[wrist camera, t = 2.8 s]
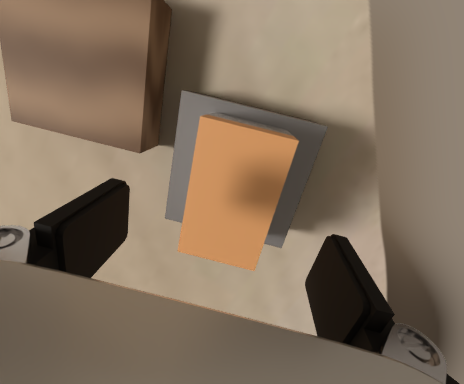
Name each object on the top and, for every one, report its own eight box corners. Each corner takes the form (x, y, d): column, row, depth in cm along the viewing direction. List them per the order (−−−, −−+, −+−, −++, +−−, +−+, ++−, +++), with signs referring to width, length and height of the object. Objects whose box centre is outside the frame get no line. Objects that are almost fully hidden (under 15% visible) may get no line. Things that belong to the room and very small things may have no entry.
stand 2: (278, 227, 26) (281, 248, 23) (177, 202, 26) (164, 218, 23) (315, 122, 22) (327, 126, 18) (194, 92, 22) (181, 90, 18)
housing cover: (254, 254, 19) (254, 271, 17) (185, 236, 19) (177, 251, 17) (293, 136, 15) (298, 141, 13) (206, 114, 15) (200, 116, 13)
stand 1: (157, 145, 24) (140, 153, 20) (49, 118, 24) (11, 120, 21) (171, 9, 20) (152, -12, 16) (37, -24, 20) (-14, -53, 16)
